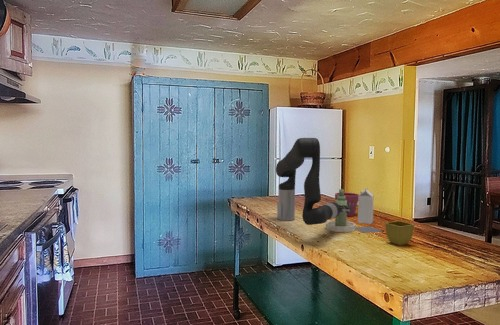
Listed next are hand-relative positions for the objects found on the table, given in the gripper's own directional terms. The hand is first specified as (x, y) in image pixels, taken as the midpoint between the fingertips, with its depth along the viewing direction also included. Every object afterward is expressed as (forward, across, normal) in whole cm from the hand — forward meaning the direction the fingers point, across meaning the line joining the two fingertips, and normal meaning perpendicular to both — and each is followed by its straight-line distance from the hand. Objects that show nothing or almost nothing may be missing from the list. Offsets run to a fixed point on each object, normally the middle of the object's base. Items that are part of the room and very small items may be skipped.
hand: (342, 206), depth 192 cm
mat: (+4, -12, +12) cm, 17 cm away
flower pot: (-12, -31, +12) cm, 35 cm away
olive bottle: (-3, 0, +10) cm, 10 cm away
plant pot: (+36, +11, +12) cm, 39 cm away
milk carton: (+21, -5, +12) cm, 24 cm away
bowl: (-2, 0, +12) cm, 12 cm away
